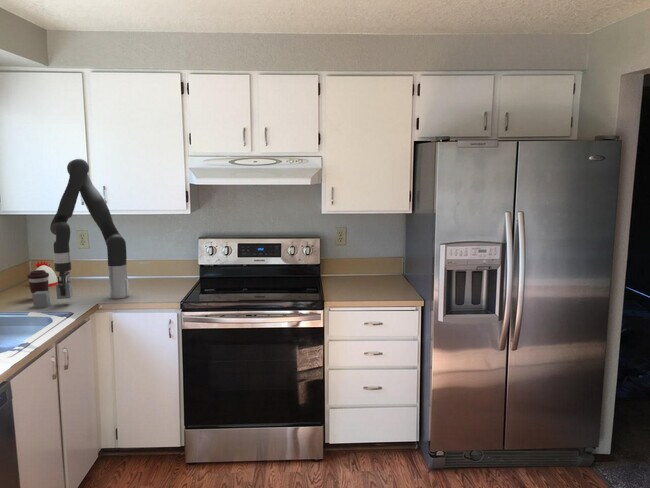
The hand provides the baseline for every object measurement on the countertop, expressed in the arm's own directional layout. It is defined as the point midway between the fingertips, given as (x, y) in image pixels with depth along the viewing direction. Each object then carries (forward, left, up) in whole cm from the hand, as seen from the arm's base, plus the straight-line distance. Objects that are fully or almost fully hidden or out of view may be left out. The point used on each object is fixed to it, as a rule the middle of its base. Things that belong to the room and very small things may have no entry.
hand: (64, 294), depth 266 cm
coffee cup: (+16, -16, -6) cm, 23 cm away
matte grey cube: (0, 0, -2) cm, 2 cm away
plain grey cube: (+11, 0, -5) cm, 12 cm away
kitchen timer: (+23, -53, -6) cm, 58 cm away
